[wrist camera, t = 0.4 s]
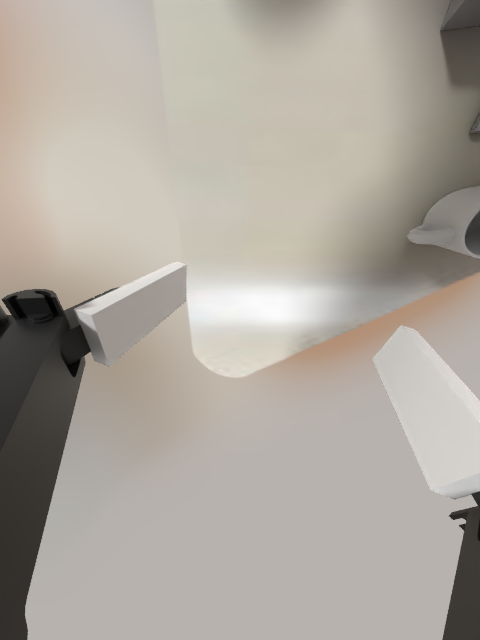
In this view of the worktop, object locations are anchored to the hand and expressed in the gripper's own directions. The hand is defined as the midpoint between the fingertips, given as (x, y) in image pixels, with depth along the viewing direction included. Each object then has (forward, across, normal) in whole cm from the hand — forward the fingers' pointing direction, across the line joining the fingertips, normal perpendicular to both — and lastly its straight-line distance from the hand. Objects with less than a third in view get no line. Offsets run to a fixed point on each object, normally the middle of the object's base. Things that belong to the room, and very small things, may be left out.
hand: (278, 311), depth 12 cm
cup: (+27, +19, +7) cm, 34 cm away
